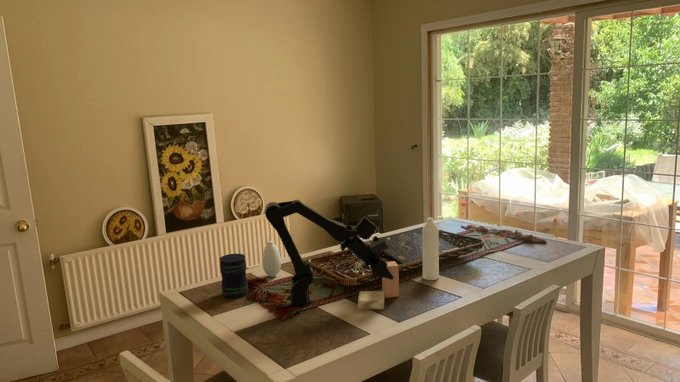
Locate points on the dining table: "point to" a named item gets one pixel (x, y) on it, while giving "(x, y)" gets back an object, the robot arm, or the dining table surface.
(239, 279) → the storage jar
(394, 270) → the terracotta post
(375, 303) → the birch plinth
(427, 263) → the water bottle
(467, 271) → the dining table surface
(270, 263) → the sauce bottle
